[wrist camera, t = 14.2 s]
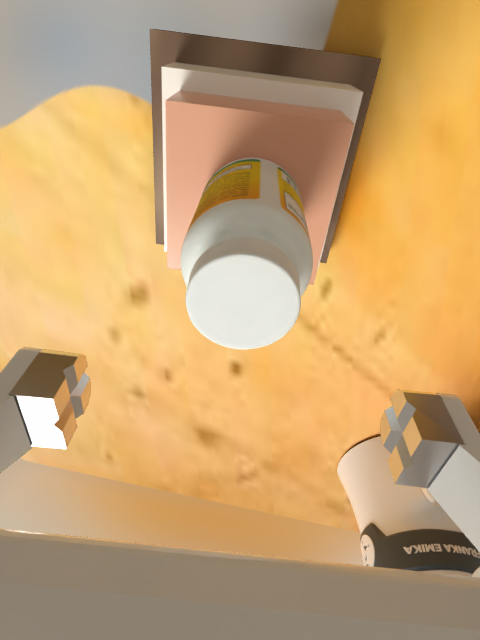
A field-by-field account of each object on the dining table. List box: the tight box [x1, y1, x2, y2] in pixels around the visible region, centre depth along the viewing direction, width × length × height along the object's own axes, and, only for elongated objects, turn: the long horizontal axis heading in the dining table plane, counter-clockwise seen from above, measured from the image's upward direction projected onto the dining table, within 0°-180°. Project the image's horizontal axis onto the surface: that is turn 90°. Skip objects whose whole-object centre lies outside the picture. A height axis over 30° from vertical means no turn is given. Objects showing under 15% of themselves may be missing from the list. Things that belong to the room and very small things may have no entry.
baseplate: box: [150, 29, 381, 263], centre depth 28 cm, size 14×14×2 cm
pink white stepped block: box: [161, 62, 363, 285], centre depth 24 cm, size 11×11×8 cm
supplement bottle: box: [181, 157, 313, 349], centre depth 17 cm, size 5×5×10 cm
